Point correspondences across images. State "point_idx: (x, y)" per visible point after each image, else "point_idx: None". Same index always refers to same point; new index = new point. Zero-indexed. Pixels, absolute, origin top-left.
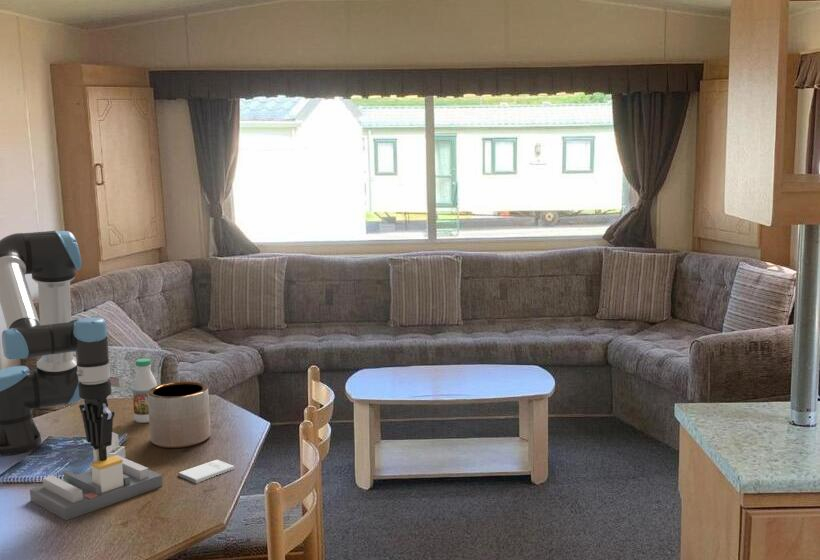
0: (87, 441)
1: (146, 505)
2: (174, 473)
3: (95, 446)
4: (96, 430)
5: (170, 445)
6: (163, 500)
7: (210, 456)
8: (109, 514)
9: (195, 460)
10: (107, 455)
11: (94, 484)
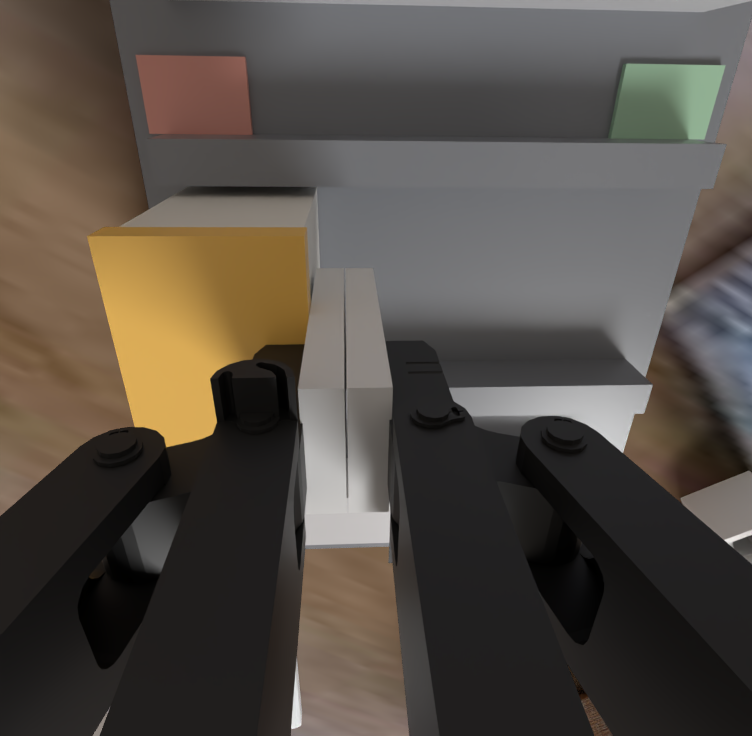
0: (572, 422)
1: (22, 342)
2: (330, 594)
3: (294, 407)
4: (161, 724)
5: (586, 702)
6: (35, 427)
7: (376, 724)
8: (18, 118)
9: (389, 685)
10: (750, 517)
11: (237, 173)
